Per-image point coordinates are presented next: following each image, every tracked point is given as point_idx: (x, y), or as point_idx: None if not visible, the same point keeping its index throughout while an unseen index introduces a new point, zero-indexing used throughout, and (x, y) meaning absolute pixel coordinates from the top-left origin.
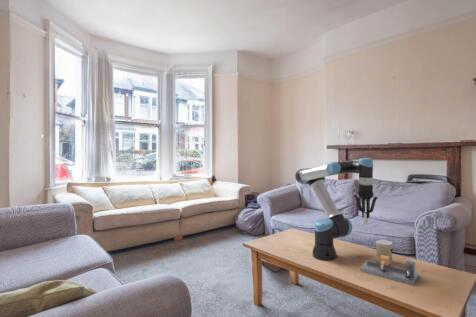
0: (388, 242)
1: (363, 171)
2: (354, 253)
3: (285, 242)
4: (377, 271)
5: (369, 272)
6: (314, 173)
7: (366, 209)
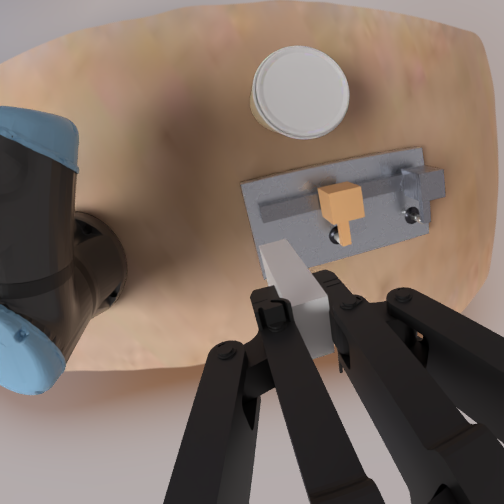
0: (321, 72)
1: None
2: (132, 124)
3: None
4: (326, 257)
5: None
6: None
7: (355, 385)
